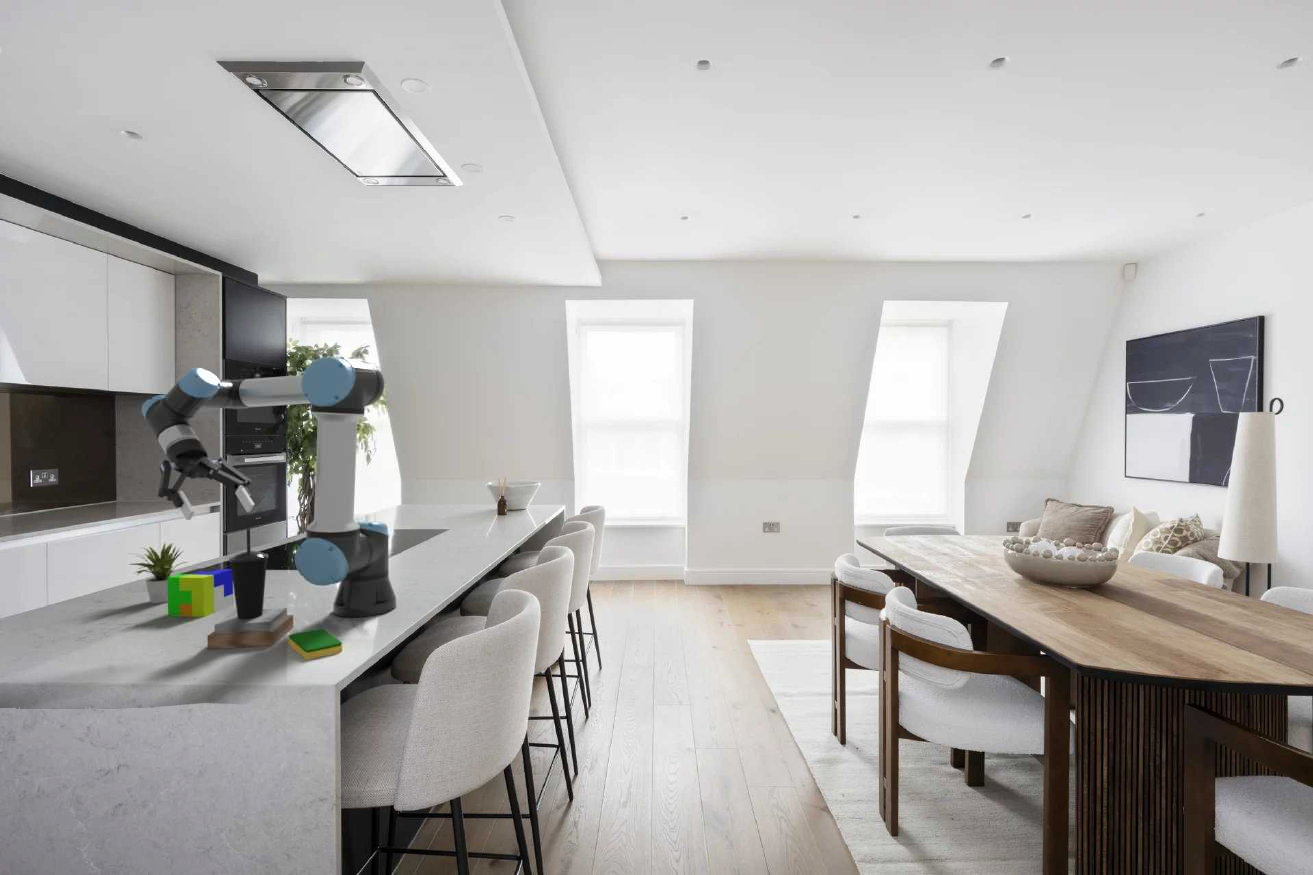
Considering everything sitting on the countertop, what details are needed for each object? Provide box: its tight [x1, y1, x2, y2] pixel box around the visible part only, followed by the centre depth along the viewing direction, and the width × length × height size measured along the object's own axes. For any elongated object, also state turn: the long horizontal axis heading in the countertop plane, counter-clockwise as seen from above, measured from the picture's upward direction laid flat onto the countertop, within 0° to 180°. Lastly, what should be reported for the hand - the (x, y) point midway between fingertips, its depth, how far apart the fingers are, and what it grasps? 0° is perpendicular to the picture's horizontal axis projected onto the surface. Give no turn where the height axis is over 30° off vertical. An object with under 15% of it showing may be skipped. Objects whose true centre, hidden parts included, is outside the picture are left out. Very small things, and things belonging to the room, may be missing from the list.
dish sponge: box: [287, 628, 343, 660], centre depth 144 cm, size 7×14×2 cm, turn 43°
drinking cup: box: [228, 528, 269, 619], centre depth 150 cm, size 8×8×20 cm
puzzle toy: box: [167, 568, 234, 618], centre depth 173 cm, size 10×10×10 cm
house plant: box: [126, 542, 189, 604], centre depth 183 cm, size 14×14×16 cm
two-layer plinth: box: [207, 607, 294, 650], centre depth 151 cm, size 13×13×5 cm
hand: (222, 512), depth 155 cm, fingers open, 13 cm apart
